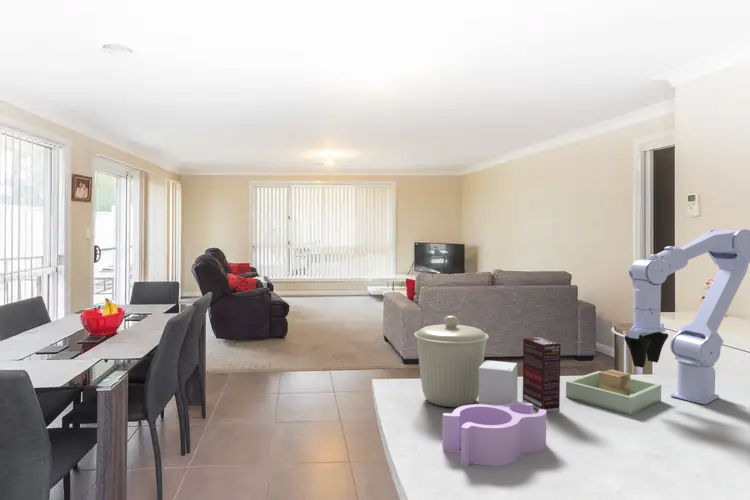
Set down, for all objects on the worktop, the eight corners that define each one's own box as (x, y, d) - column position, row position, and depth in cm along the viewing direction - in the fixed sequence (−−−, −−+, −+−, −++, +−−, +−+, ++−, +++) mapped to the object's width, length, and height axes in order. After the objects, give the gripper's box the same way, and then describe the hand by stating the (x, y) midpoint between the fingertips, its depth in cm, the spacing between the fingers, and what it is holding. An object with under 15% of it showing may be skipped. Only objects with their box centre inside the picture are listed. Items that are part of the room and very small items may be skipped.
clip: (517, 429, 106) (518, 397, 106) (560, 453, 95) (561, 417, 94) (435, 444, 98) (435, 409, 98) (470, 472, 87) (471, 433, 87)
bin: (598, 385, 136) (598, 370, 136) (661, 400, 124) (661, 384, 124) (566, 397, 127) (566, 381, 126) (630, 415, 114) (630, 397, 114)
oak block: (610, 392, 128) (611, 369, 128) (629, 398, 124) (630, 374, 124) (599, 396, 126) (599, 372, 125) (618, 401, 121) (618, 377, 121)
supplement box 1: (518, 418, 112) (518, 362, 111) (512, 430, 105) (513, 370, 105) (485, 413, 115) (485, 359, 114) (477, 425, 108) (477, 366, 108)
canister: (474, 419, 111) (475, 324, 111) (401, 405, 120) (401, 318, 120) (497, 396, 127) (497, 313, 127) (430, 385, 136) (431, 308, 135)
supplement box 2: (560, 411, 116) (561, 343, 116) (542, 413, 115) (543, 344, 114) (538, 399, 125) (539, 336, 124) (521, 401, 123) (522, 337, 123)
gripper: (651, 313, 115) (649, 372, 115) (677, 307, 124) (676, 362, 124) (620, 309, 120) (619, 366, 121) (647, 304, 129) (646, 357, 130)
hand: (646, 364), depth 123 cm, fingers open, 7 cm apart
